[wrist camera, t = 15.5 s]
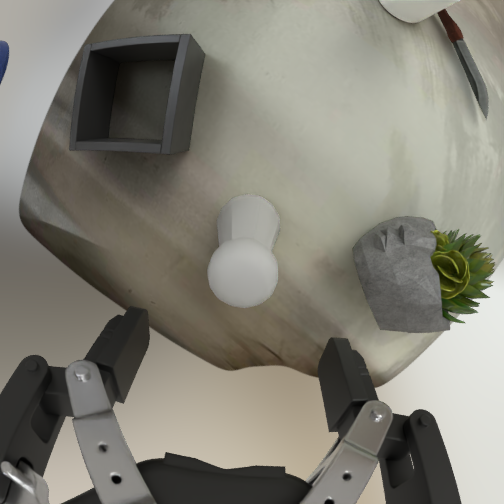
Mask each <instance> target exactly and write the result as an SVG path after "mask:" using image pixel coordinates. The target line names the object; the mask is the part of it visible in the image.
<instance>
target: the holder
mask: <svg viewBox="0 0 504 504" xmlns="http://www.w3.org/2000/svg"><path fill="white" fill-rule="evenodd" d="M204 58H205V53H204V52H203V50H202V49H201V48H200V46H199V45H198V43H197V42H196V41H195V39H194V38H193V37H192V35H191V34H181V35H180V34H176V35H154V36H142V37H132V38H124V39H116V40H110V41H104V42H98V43H93V44H87V45H85V48H84V52H83V56H82V60H81V65H80V70H79V75H78V80H77V86H76V92H75V98H74V105H73V113H72V122H71V132H70V146H69V150H92V151H123V152H141V153H155V154H167V155H170V154H175V153H179V152H184V151H189V147H190V140H191V133H192V126H193V119H194V113H195V106H196V100H197V95H198V89H199V83H200V78H201V73H202V67H203V62H204ZM151 60H175V64H174V69H173V75H172V80H171V85H170V91H169V97H168V103H167V109H166V116H165V123H164V131H163V139H162V140H150V139H126V138H108V135H109V125H110V117H111V109H112V102H113V96H114V89H115V84H116V78H117V73H118V68H119V63H122V62H134V61H151Z"/></svg>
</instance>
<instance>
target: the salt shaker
mask: <svg viewBox="0 0 504 504" xmlns="http://www.w3.org/2000/svg"><path fill="white" fill-rule="evenodd" d="M217 228H218V239H219V248H218V249H217V250H215V252H214V253H213V255H212V258H211V260H210V263H209V266H208V268H207V274H208V279H209V285H210V288H211V289H212V291H213V292H214V294H215V295H216V296H217V298H218V299H220V300H222V301H223V302H225V303H227V304H229V305H230V306H236V307H242V308H247V307H251V306H256V305H259V304H261V303H262V302H264V301H265V300H266V299H268V298H269V297H271V295H272V293H273V291H274V289H275V287H276V285H277V282H278V263H277V260H276V258H275V257H274V255H273V253H272V250H273V248H274V245H275V243H276V240H277V237H278V235H279V232H280V216H279V215H278V213H277V211H276V209H275V208H274V206H273V204H271V203H270V202H269V201H267V200H266V199H264V198H263V197H261V196H258V195H251V194H245V195H241V196H237V197H234V198H232V199H231V200H230V201H228V202H227V203H226V204H225V205H224V206H223V207H222V209H221V211H220V214H219V216H218V219H217Z"/></svg>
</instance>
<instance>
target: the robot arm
mask: <svg viewBox="0 0 504 504" xmlns="http://www.w3.org/2000/svg"><path fill="white" fill-rule="evenodd" d="M149 340H150V334H149V320H148V311H147V310H146V309H142V308H138V307H133V306H130V307H129V308H128V310H127V311H126V313H125V315H124V316H121V315H117V316H115V317H114V318H112V319H111V320H109V322H108V323H107V325H106V326H105V328H104V330H103V331H102V332H101V334H100V336H99V337H98V338H97V340H96V341H95V343H94V344H93V346H92V347H91V349H90V350H89V352H88V353H87V355H86V357H85V358H84V359H83V360H77V361H75V362H73V363H71V364H70V365H69V366H68V367H67V368H63V367H52V366H48V364H47V361H46V360H45V359H44V358H43V357H41V356H38V355H31V356H28V357H26V358H24V359H23V360H22V361H21V363H20V364H19V366H18V367H17V369H16V370H15V372H14V373H13V375H12V376H11V378H10V379H9V381H8V383H7V384H6V386H5V388H4V389H3V391H2V392H1V394H0V504H49V500H48V497H49V489H48V485H47V483H46V481H45V480H44V479H43V475H44V471H45V469H46V466H47V463H48V460H49V458H50V455H51V452H52V450H53V447H54V444H55V442H56V439H57V437H58V434H59V432H60V429H61V427H62V425H63V422H64V420H65V417H66V416H70V417H74V419H72V420H73V426H74V430H75V433H76V437H77V440H78V443H79V446H80V450H81V453H82V456H83V459H84V462H85V464H86V467H87V470H88V472H89V475H90V478H91V480H92V483H93V485H94V488H92V489H90V490H88V491H86V492H85V493H82V494H80V495H78V496H76V497H74V498H72V499H70V500H68V501H66V502H64V503H61V504H356V502H357V500H358V499H359V497H360V495H361V494H362V492H363V490H364V488H365V487H366V485H367V483H368V481H369V479H370V477H371V476H372V474H373V472H374V470H375V468H376V466H377V464H378V461H379V463H380V468H381V475H382V480H383V487H384V492H385V500H386V504H461V500H460V496H459V492H458V488H457V484H456V480H455V477H454V474H453V470H452V467H451V463H450V460H449V457H448V454H447V451H446V448H445V445H444V442H443V439H442V436H441V434H440V431H439V428H438V425H437V423H436V420H435V418H434V416H433V415H432V414H431V413H430V412H428V411H426V410H422V409H419V410H415V411H414V412H413V413H412V414H411V415H410V416H404V415H399V414H394V413H392V410H391V409H390V407H389V406H388V405H386V404H385V403H384V402H381V401H379V400H378V397H377V394H376V391H375V388H374V386H373V383H372V380H371V377H370V376H369V372H368V369H366V364H365V362H364V359H363V357H362V356H361V355H360V354H359V353H358V352H357V351H356V350H352V349H351V346H350V343H349V341H348V339H346V338H330V339H329V341H328V343H327V345H326V348H325V350H324V352H323V354H322V357H321V359H320V361H319V365H318V376H319V381H320V386H321V391H322V396H323V402H324V407H325V412H326V418H327V423H328V429H329V432H338V434H339V437H338V438H337V440H336V441H335V443H334V444H333V446H332V447H331V449H330V450H329V451H328V453H327V454H326V456H325V457H324V458H323V460H322V461H321V463H320V464H319V465H318V467H317V468H316V469H315V471H314V472H313V473H312V474H311V475H310V476H309V477H308V479H307V480H306V481H304V480H302V479H300V478H298V477H296V476H293V475H290V474H287V473H285V467H280V466H279V467H278V466H275V467H274V466H250V467H242V468H234V469H223V468H220V467H217V466H214V465H211V464H208V463H206V462H203V461H201V460H198V459H196V458H191V457H186V456H181V455H176V454H172V453H167V452H166V453H165V458H158V459H150V460H145V461H142V462H139V463H137V464H136V462H135V460H134V458H133V456H132V454H131V451H130V449H129V447H128V445H127V443H126V441H125V438H124V436H123V434H122V431H121V429H120V427H119V424H118V422H117V419H116V416H115V414H114V411H113V409H112V408H113V406H114V403H115V401H117V402H120V403H124V402H125V399H126V397H127V394H128V392H129V390H130V387H131V385H132V383H133V380H134V378H135V375H136V373H137V371H138V369H139V367H140V364H141V362H142V360H143V357H144V355H145V353H146V351H147V348H148V345H149ZM410 454H411V457H410ZM411 458H412V461H411ZM412 462H413V465H412ZM413 466H414V469H413Z"/></svg>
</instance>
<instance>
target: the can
mask: <svg viewBox="0 0 504 504" xmlns="http://www.w3.org/2000/svg"><path fill="white" fill-rule="evenodd" d="M379 1H380V3H381V4H382V6H383V7H384V8H385V9H386V10H387V11H388V12H389V13H391V14H392V15H393V16H395V17H397V18H398V19H400V20H403V21H405V22H409V23H418V22H421V21H422V20H424V19H426V18H428V17H430V16H432V15H433V14H435V13H437V12H439V11H441V10H443V9H445V8H447V7H449V6H451V5H452V4H454V3H456V2H458V1H460V0H379Z"/></svg>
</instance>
